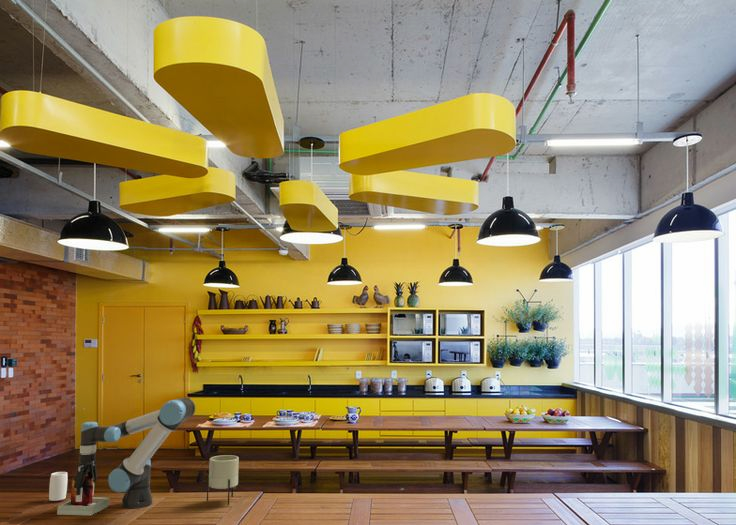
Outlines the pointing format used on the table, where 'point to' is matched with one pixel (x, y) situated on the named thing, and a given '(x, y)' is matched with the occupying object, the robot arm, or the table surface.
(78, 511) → the tray
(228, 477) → the planter
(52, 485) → the cup
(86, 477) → the mug
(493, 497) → the table surface
